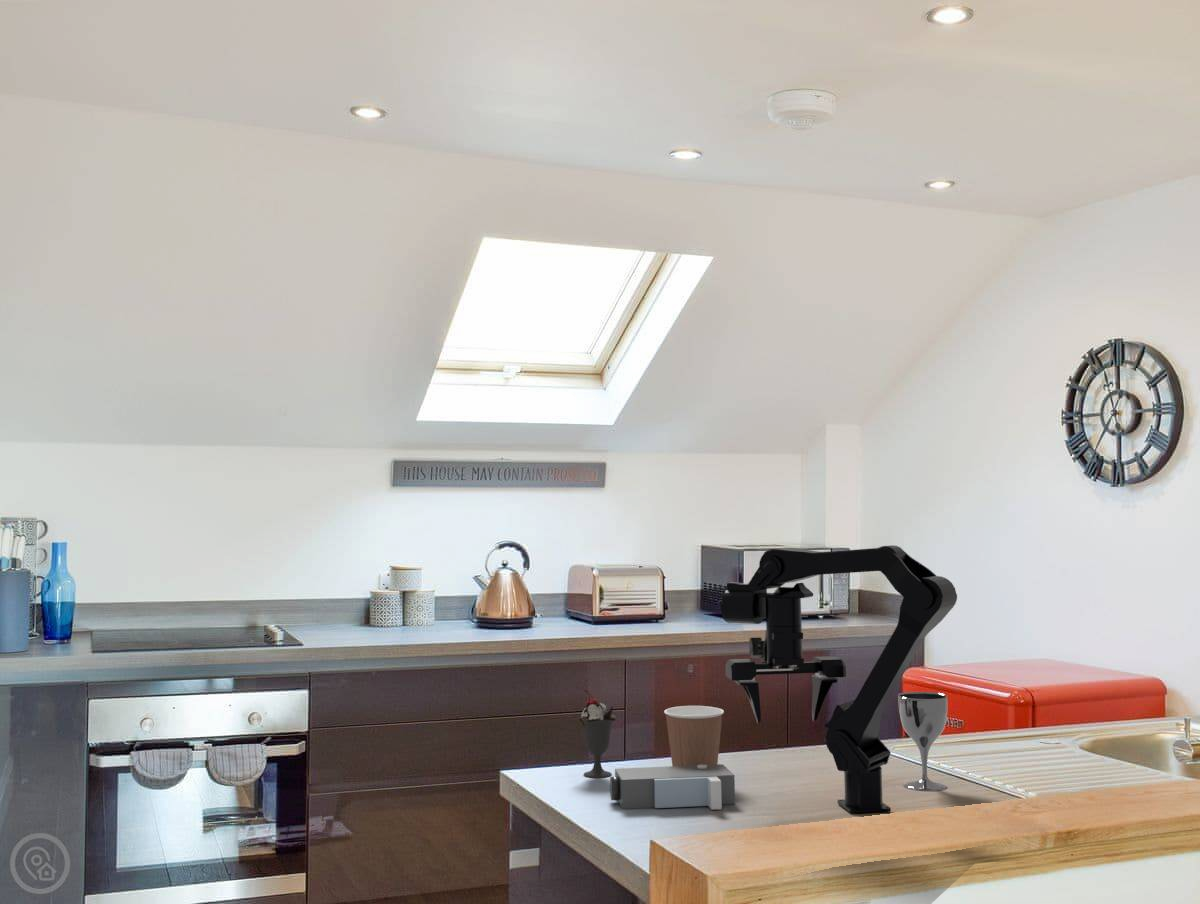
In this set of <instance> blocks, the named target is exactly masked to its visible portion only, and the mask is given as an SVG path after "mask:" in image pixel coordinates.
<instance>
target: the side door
mask: <svg viewBox="0 0 1200 904" xmlns="http://www.w3.org/2000/svg"><path fill="white" fill-rule="evenodd" d="M722 805H723V804H721V780H720V779H719V778H718V777H717V776H714V777H690V778H667V779H654V808H655V809H663V808H664V809H665V808H666V809H667V808H668V809H669V808H686V807H688V808H690V807H706V806H707V807H709V809H710V810H722V807H723V806H722Z"/></svg>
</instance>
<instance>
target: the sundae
mask: <svg viewBox="0 0 1200 904" xmlns="http://www.w3.org/2000/svg"><path fill="white" fill-rule="evenodd" d="M583 691H584V692H585V693H586V694H588V701H587V700H586V702H585V706H586V707H585V708H584V709H583V710H582V712H581V714H580V717H578V720H579V721H580V722H581V724H582V729H583V738H584V743H585V747H586V749H587V750H588V752H590V753H591V754H592V755H593V767H592V769H591V770H589V771H586V772H584V773H583V776H584V777H585V778H590V779H591V778H592V779H603V778H609V777H612V773H611V772H610V771H608V770H607V771H606V770H605V769H603V767H602V762H601V760H602V759H601V758H602V755H603V754H604V753H605V752H607V750H608V748H609V745H610V739H611V729H612V723H613V722H615V721H616V715H614V714H612V712H613V710H614V707H613V706H611V707H609V709H607V705H605V704H604V703H603V702H601V701H599V700H597V699H596V698H594V697H593V695H592V694H591V692H590V691H589V690H588V688H587V689H584V690H583ZM591 698H592V699H591Z"/></svg>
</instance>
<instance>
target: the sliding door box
mask: <svg viewBox="0 0 1200 904" xmlns="http://www.w3.org/2000/svg"><path fill="white" fill-rule="evenodd" d="M714 776H717V777H718V778H719V779H720V780H721V804H722V805H731V804H732V805H735V804H736V792H735V791H736V790H735V788H736V787H735V786H736V785H735V783H736V781H735V774H734V773H733V772H732V771H731V770H730V769H729V768H728V767H727V766H725V765H724V764H722V763H720V764H719V763H718V764H716V765H705V764H699V765H691V766H670V765H669V766H668V765H667V766H646V767H626V768H625V767H623V768H621V767H620V768H614V776H609V777H610V778H609V797H610V800H611V801H617V802H618V804H619V805H620V807H621V809H622V810H626V809H630V810H631V809H649V808H655V807H654V779H667V778H690V777H714Z"/></svg>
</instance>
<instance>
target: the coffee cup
mask: <svg viewBox="0 0 1200 904" xmlns="http://www.w3.org/2000/svg"><path fill="white" fill-rule="evenodd" d="M724 712H725V711H724V709H722V708H719V707H714V706H708V705H706V706H705V705H681V706H674V707H668V708H667V709H665V710H664V711H663V713H664V714H665V716H666V717H665V719H666V726H667V734H668V743H669V748H670V749H669V750H670V758H671V765H672V766H691V765H699V764H705V765H716V764H719V762H718V761H719V754H720V753H719V751H720V744H721V743H720V741H721V733H722V732H721V731H722V720H723V717H722V715H723V714H724Z"/></svg>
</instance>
